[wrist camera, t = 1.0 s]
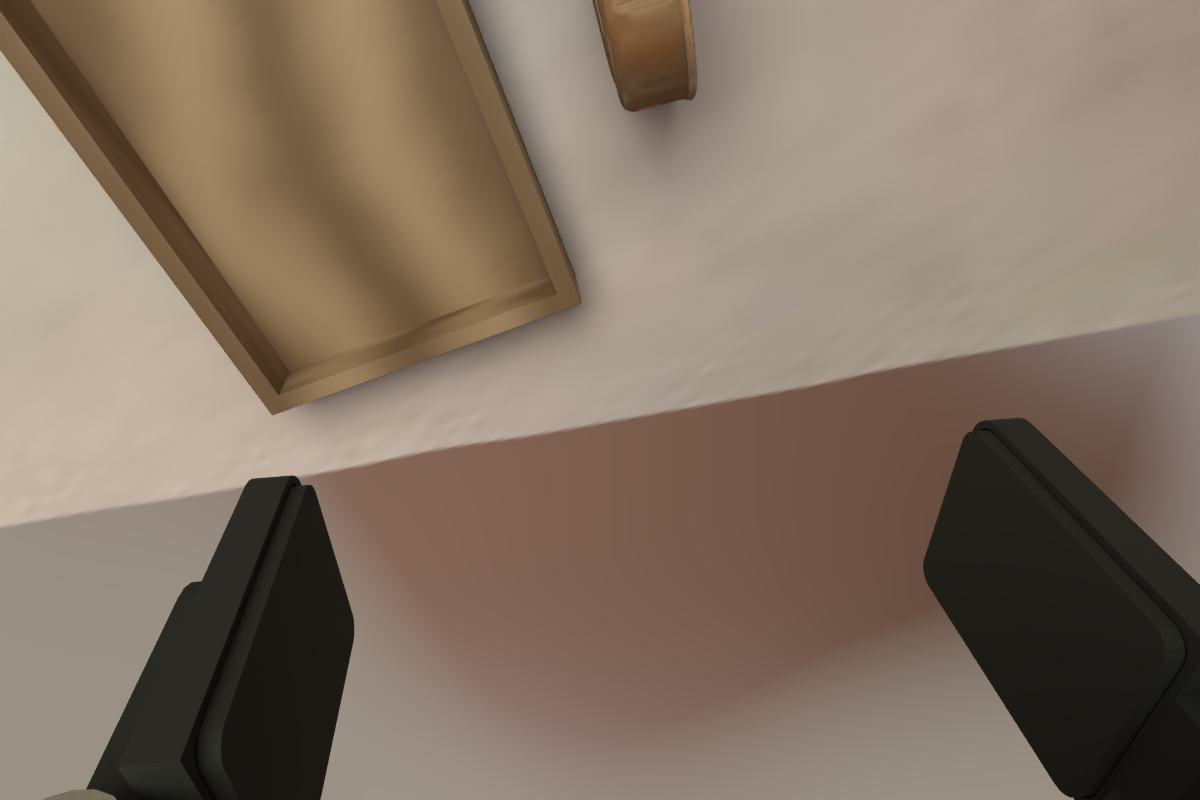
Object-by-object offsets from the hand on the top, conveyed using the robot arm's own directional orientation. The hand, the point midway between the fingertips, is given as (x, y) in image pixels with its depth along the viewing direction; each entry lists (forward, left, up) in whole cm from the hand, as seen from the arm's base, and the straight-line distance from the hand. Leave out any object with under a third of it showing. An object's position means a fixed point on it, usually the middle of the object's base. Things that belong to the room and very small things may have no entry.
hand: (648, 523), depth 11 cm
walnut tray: (+9, -4, -23) cm, 25 cm away
